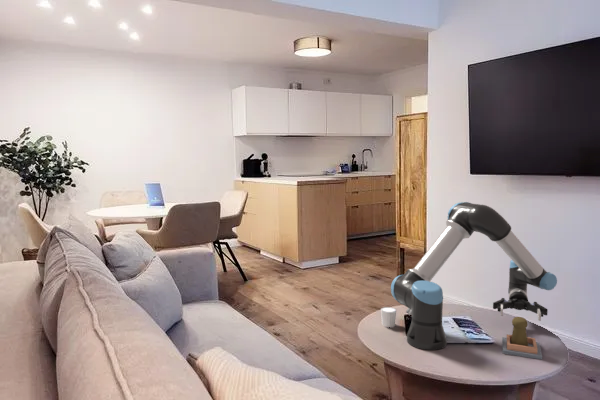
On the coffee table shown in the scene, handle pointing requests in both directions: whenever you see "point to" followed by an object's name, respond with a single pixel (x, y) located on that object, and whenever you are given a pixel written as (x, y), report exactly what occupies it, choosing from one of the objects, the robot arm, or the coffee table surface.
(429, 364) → the coffee table surface
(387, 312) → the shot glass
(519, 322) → the cork
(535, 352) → the pallet plate
